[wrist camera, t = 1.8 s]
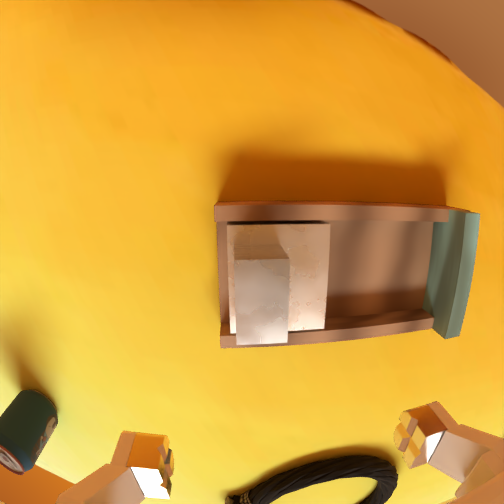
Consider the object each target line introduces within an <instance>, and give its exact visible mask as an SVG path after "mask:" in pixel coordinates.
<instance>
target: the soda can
mask: <svg viewBox="0 0 504 504" xmlns="http://www.w3.org/2000/svg"><path fill="white" fill-rule="evenodd" d="M57 424H58V417H57V411H56V408H55V406H54V405H53V403H52V402H51V401H50V400H49V399H48V398H47V397H46V396H45V395H44V394H42V393H40V392H38V391H36V390H24V391H21V392H20V393H19V394H18V395H17V397H16V398H15V399H14V400H13V401H12V403H11V404H10V405H9V406H8V408H7V409H6V410H5V411H4V413H3V414H2V415H1V417H0V464H1V465H3V466H4V467H5V468H7V469H8V470H10V471H11V472H13V473H15V474H18V475H23V474H24V472H25V471H28V470H30V469H31V468H32V467H33V466H34V464H35V462H36V460H37V459H38V457H39V455H40V453H41V452H42V450H43V448H44V446H45V445H46V443H47V441H48V440H49V438H50V436H51V434H52V433H53V431H54V429H55V428H56V426H57Z"/></svg>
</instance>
